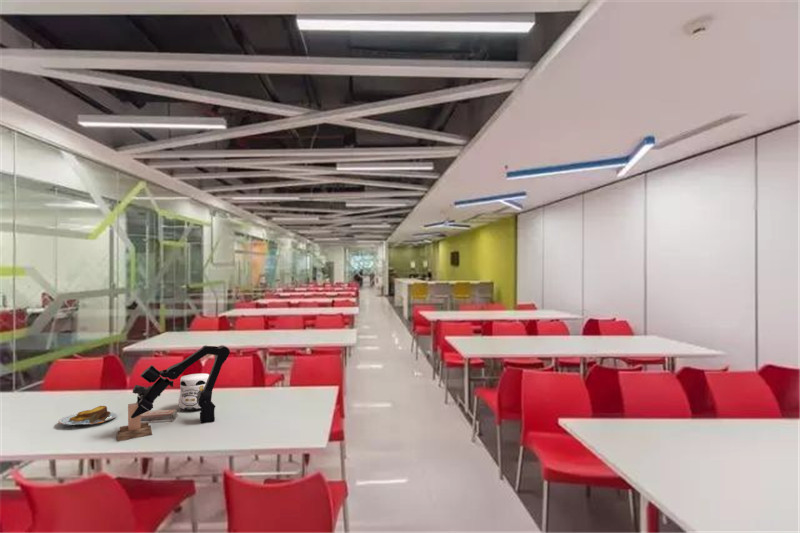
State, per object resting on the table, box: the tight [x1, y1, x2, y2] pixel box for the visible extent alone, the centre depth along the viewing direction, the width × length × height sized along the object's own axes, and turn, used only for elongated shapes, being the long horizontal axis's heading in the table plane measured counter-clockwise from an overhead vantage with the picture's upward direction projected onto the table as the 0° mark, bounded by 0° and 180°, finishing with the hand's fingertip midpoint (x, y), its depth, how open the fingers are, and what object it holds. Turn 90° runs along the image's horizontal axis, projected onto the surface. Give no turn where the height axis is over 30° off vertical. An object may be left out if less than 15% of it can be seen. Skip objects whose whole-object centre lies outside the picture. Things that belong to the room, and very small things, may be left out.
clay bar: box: [127, 402, 141, 431], centre depth 214 cm, size 5×5×13 cm
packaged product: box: [141, 409, 179, 424], centre depth 234 cm, size 18×5×10 cm
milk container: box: [178, 372, 213, 411], centre depth 254 cm, size 17×17×18 cm
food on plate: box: [58, 405, 118, 426], centre depth 233 cm, size 25×25×7 cm
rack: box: [116, 422, 153, 442], centre depth 214 cm, size 14×13×3 cm
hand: (131, 415), depth 213 cm, fingers open, 9 cm apart
